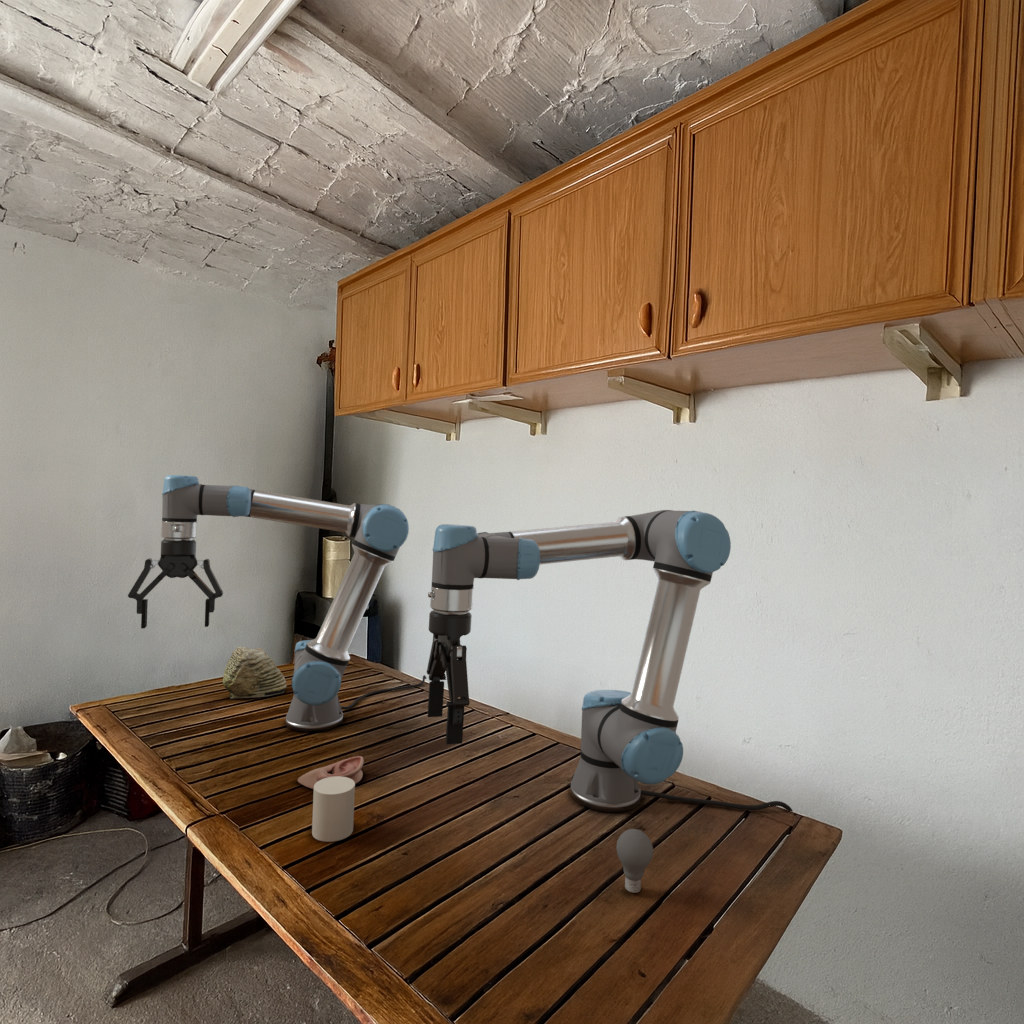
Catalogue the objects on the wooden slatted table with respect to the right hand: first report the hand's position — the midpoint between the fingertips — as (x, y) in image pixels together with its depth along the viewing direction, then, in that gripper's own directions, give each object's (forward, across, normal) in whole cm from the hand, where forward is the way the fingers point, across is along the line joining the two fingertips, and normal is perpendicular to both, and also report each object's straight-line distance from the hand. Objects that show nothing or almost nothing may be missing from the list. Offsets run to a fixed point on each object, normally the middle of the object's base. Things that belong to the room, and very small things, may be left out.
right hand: (443, 729), depth 113 cm
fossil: (+24, -103, -33) cm, 110 cm away
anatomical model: (+23, -36, -15) cm, 45 cm away
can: (+23, -14, -17) cm, 32 cm away
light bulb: (+22, +19, +29) cm, 41 cm away
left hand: (-6, -62, -51) cm, 81 cm away
